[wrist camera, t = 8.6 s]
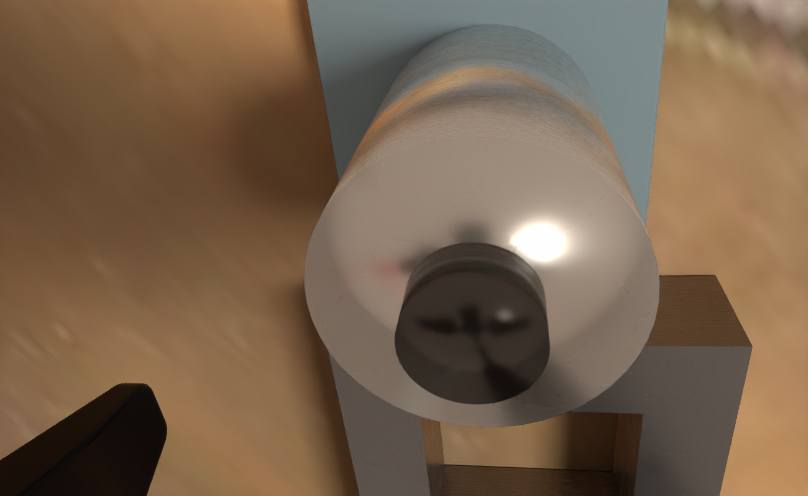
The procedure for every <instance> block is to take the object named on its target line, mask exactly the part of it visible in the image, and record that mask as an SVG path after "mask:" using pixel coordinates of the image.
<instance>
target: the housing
mask: <svg viewBox="0 0 808 496" xmlns="http://www.w3.org/2000/svg"><path fill="white" fill-rule="evenodd" d="M659 281H660V286H659V304H658V309H657V313H656V318H655V322H654V325H653V327H652V330H651V333H650V335H649V338H648V340H647V342H646V343H645V345H644V347H643V349H642V350H641V352H640V354H639V356H638V357H637V358H636V360H635V361H634V362H633V363H632V365H631V366H630V367H629V368H628V370H627V371H626V372H625V373H624V374H623V375H622V376H621V377H620V378H619V379H618V380H617V381H616V382H615V383H614V384H613V385H611V386H610V387H609V388H607V389H606V390H605V391H603V392H602V393H601V394H599V395H598V396H597V397H595V398H593V399H592V400H590V401H588V402H586V403H585V404H583V405H581V406H579V407H577V408H575V409H573V410H570V411H568V412H595V413H618V419H617V430H616V441H615V453H614V464H613V472H599V471H575V470H550V469H526V468H502V467H477V466H453V465H444V457H443V448H442V439H441V430H440V422H439V421H435V420H431V419H427V418H424V417H421V416H418V415H415V414H413V413H410V412H407V411H405V410H402V409H400V408H398V407H396V406H394V405H392V404H390V403H388V402H386V401H385V400H383V399H381V398H380V397H378V396H376V395H375V394H373V393H372V392H370V391H369V390H367V389H366V388H365V387H363V386H362V385H361V384H360V383H358V382H357V381H356V380H355V379H354V378H352V377H351V376H350V375H349V374H348V373H347V372H346V371H345V370H344V369H343V368H342V367H341V366H340V364H339V363H338V362H337V361H336V360H335V358H334V357H333V356H332V355H331V354H330V352H329V351H328V353H329V358H330V362H331V367H332V371H333V376H334V381H335V385H336V390H337V394H338V399H339V404H340V408H341V413H342V417H343V422H344V426H345V431H346V436H347V440H348V445H349V449H350V454H351V459H352V463H353V468H354V472H355V477H356V481H357V486H358V491H359V495H360V496H719V495H720V490H721V486H722V481H723V477H724V472H725V468H726V464H727V459H728V455H729V450H730V446H731V441H732V437H733V432H734V428H735V423H736V419H737V414H738V410H739V405H740V401H741V396H742V392H743V387H744V383H745V378H746V374H747V369H748V365H749V360H750V356H751V351H752V345H751V343H750V341H749V339H748V337H747V335H746V333H745V331H744V329H743V327H742V325H741V323H740V322H739V320H738V318H737V316H736V314H735V312H734V310H733V308H732V306H731V304H730V302H729V300H728V298H727V296H726V295H725V293H724V291H723V289H722V287H721V285H720V283H719V281H718V279H717V277H716V276H659Z"/></svg>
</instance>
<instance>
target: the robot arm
mask: <svg viewBox="0 0 808 496" xmlns="http://www.w3.org/2000/svg"><path fill="white" fill-rule="evenodd" d="M166 436H167V426H166V422H165V419H164V417H163V414H162V412H161V409H160V407H159V405H158V402H157V400H156V398H155V395H154V393H153V391H152V389H151V388H150V387H149V386H148V385H147V384H143V383H122V384H118V385H116V386H114V387H113V388H111V389H110V390H108V391H107V392H105V393H103V394H102V395H100V396H99V397H97V398H96V399H94V400H93V401H91V402H90V403H88V404H86V405H85V406H83V407H82V408H80V409H79V410H77V411H76V412H74V413H73V414H71V415H69V416H68V417H66V418H65V419H63V420H62V421H60V422H59V423H57V424H56V425H54V426H52V427H51V428H49V429H48V430H46V431H45V432H43V433H42V434H40V435H39V436H37V437H35V438H34V439H32V440H31V441H29V442H28V443H26V444H25V445H23V446H22V447H20V448H18V449H17V450H15V451H14V452H12V453H11V454H9V455H8V456H6V457H5V458H3V459H1V460H0V496H147V493H148V490H149V487H150V484H151V482H152V479H153V476H154V473H155V470H156V467H157V464H158V461H159V458H160V455H161V453H162V450H163V447H164V444H165V440H166Z"/></svg>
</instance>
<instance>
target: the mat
mask: <svg viewBox="0 0 808 496" xmlns="http://www.w3.org/2000/svg"><path fill="white" fill-rule="evenodd" d="M307 4H308V9H309V15H310V21H311V26H312V32H313V38H314V44H315V49H316V55H317V61H318V66H319V72H320V78H321V83H322V89H323V95H324V100H325V106H326V112H327V117H328V123H329V129H330V134H331V140H332V146H333V152H334V157H335V163H336V169H337V174H338V180H339V181H340V179H341V177H342V176H343V174H344V172H345V170H346V168H347V166H348V165H349V163H350V161H351V159H352V157H353V155H354V154H355V152H356V150H357V148H358V146H359V144H360V142H361V141H362V139H363V137H364V135H365V133H366V131H367V130H368V128H369V126H370V124H371V122H372V120H373V119H374V117H375V115H376V113H377V111H378V109H379V107H380V106H381V104H382V102H383V100H384V98H385V96H386V95H387V93H388V91H389V89H390V87H391V85H392V84H393V82H394V80H395V78H396V76H397V75H398V73H399V72H400V71H401V69H402V68H403V66H404V65H405V64H406V63H407V62H408V61H409V60H410V58H411V57H412V56H413V55H414V54H415V53H417V52H418V51H419V50H420V49H421V48H423V47H424V46H425V45H427V44H428V43H430V42H431V41H433V40H435V39H436V38H438V37H440V36H442V35H444V34H447V33H449V32H451V31H454V30H457V29H461V28H464V27H468V26H475V25H482V24H501V25H509V26H515V27H519V28H523V29H526V30H529V31H532V32H534V33H537V34H539V35H541V36H543V37H545V38H547V39H548V40H550V41H552V42H553V43H555V44H556V45H557V46H559V47H560V48H561V49H562V50H564V51H565V52H566V53H567V54H568V55H569V56H570V57H571V58H572V59H573V60H574V61H575V62H576V64H577V65H578V66H579V68H580V69H581V71H582V72H583V74H584V75H585V77H586V79H587V81H588V83H589V85H590V87H591V89H592V92H593V95H594V97H595V100H596V102H597V105H598V107H599V110H600V112H601V115H602V118H603V120H604V123H605V125H606V128H607V130H608V133H609V136H610V138H611V141H612V143H613V146H614V148H615V151H616V154H617V156H618V159H619V161H620V164H621V166H622V169H623V172H624V174H625V177H626V179H627V182H628V184H629V187H630V189H631V192H632V195H633V197H634V200H635V202H636V205H637V207H638V210H639V213H640V215H641V218H642V220H643V223H644V225H645V228H646V219H647V209H648V199H649V189H650V178H651V168H652V158H653V148H654V138H655V128H656V118H657V108H658V98H659V88H660V78H661V68H662V58H663V48H664V38H665V28H666V18H667V8H668V0H307Z"/></svg>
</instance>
